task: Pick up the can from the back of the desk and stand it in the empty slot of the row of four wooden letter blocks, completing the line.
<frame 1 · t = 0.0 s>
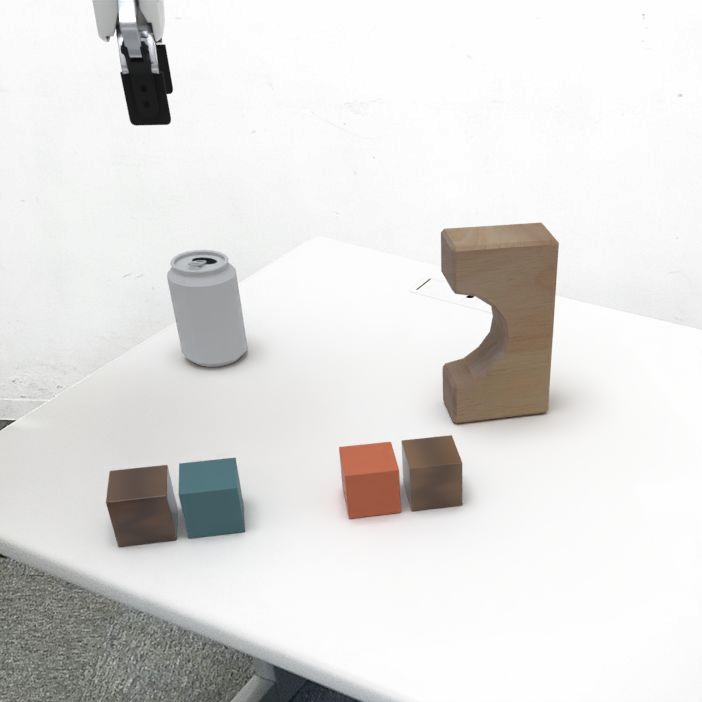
hand: (153, 108, 84), 32 cm above the table, tool pointing down, fingers open, 9 cm apart
block b4: (432, 493, 95), on the table
block b1: (148, 527, 89), on the table
can: (216, 356, 115), on the table
block b3: (371, 500, 94), on the table
decorative block: (495, 408, 109), on the table
block b2: (216, 519, 90), on the table
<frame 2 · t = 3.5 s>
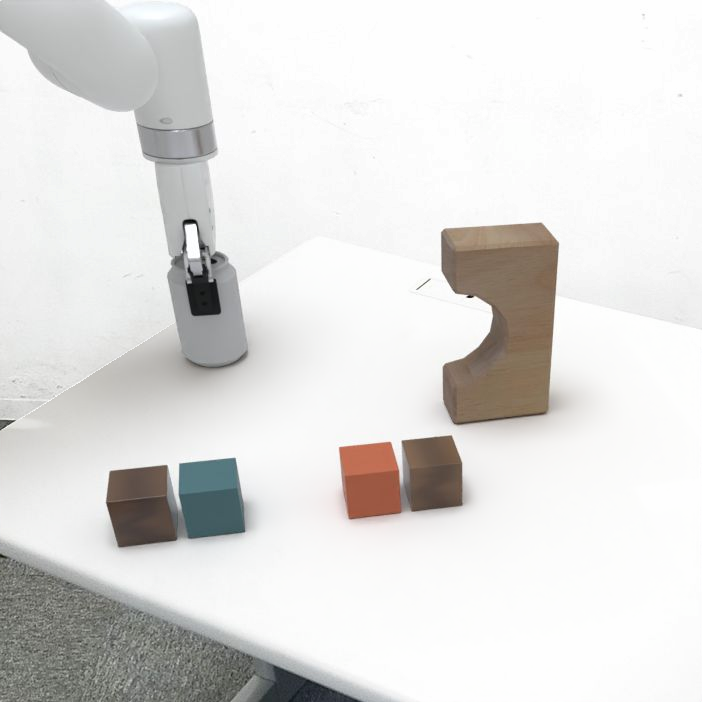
hand: (206, 297, 110), 7 cm above the table, tool pointing down, fingers closed on can, 7 cm apart
can: (216, 356, 115), on the table, touching gripper
everything else where it was.
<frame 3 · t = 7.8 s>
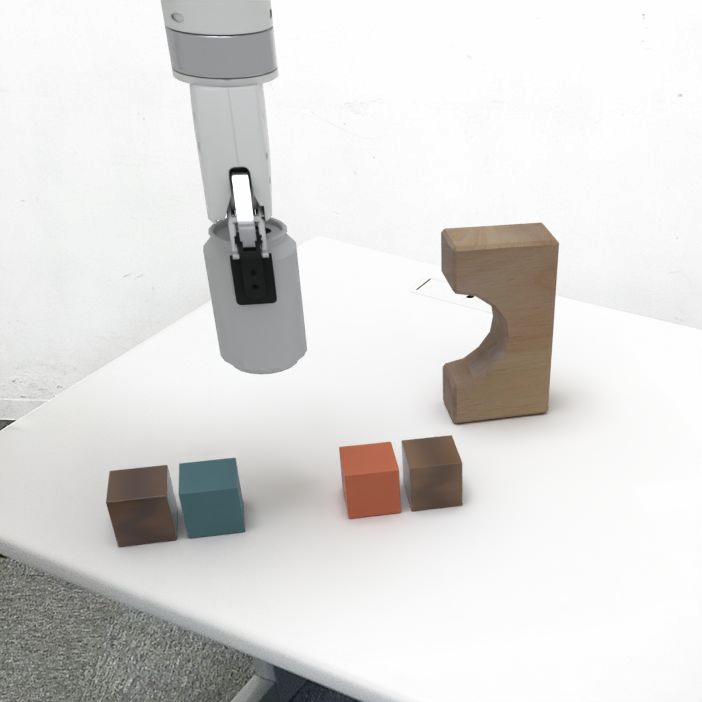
hand: (254, 280, 81), 22 cm above the table, tool pointing down, fingers closed on can, 7 cm apart
can: (265, 360, 86), point 14 cm above the table, touching gripper
everything else where it was.
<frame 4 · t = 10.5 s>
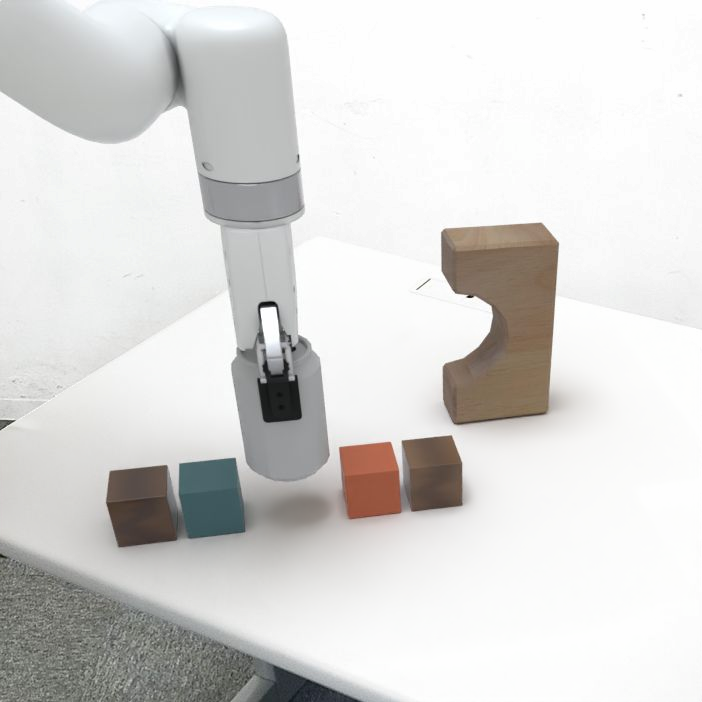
hand: (279, 394, 84), 13 cm above the table, tool pointing down, fingers closed on can, 7 cm apart
can: (289, 465, 89), point 5 cm above the table, touching gripper
everything else where it was.
when the fingers open (7 cm above the table, at t = 12.6 s): can stays where it is, on the table.
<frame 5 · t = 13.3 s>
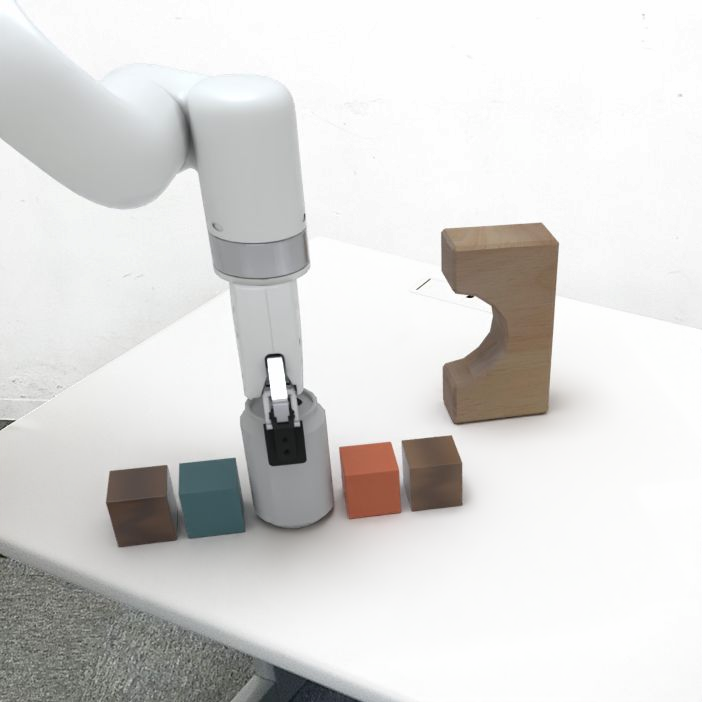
hand: (284, 433, 87), 9 cm above the table, tool pointing down, fingers open, 9 cm apart
can: (295, 511, 92), on the table
everything else where it was.
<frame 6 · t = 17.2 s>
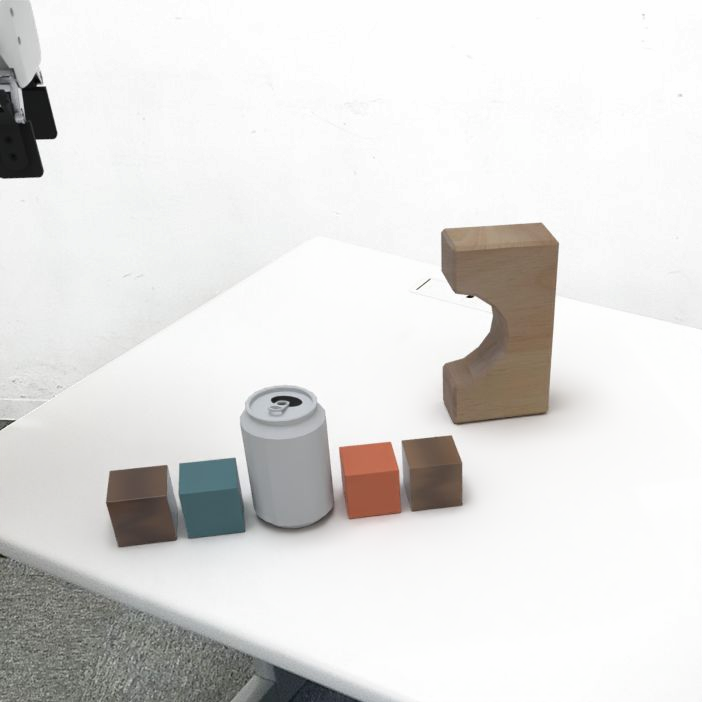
hand: (30, 156, 77), 30 cm above the table, tool pointing down, fingers open, 9 cm apart
nothing on the table moved.
at the end: can 0.1 cm from the target spot on the table beside the block b2, on the table; can tilted 0°; block b3 moved 0.0 cm from its start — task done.
